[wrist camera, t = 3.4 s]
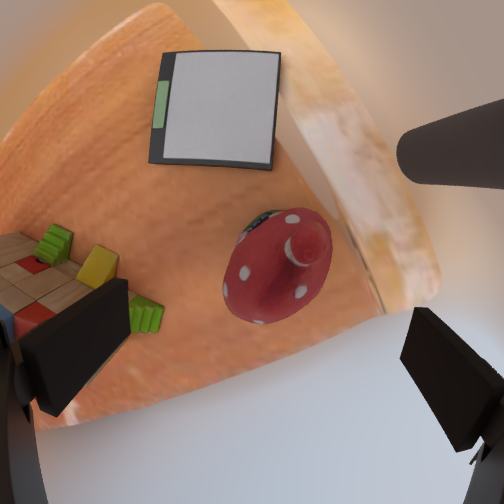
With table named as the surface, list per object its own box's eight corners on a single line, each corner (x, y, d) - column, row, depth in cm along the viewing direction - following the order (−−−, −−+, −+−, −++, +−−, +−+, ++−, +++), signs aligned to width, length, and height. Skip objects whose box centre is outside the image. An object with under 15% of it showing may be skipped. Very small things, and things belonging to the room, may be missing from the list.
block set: (1, 284, 36) (-86, 328, 17) (8, 199, 33) (-98, 219, 14) (147, 372, 36) (78, 479, 17) (173, 278, 33) (75, 377, 14)
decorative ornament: (295, 189, 30) (315, 193, 15) (332, 242, 31) (378, 292, 16) (221, 243, 32) (176, 293, 17) (259, 292, 32) (245, 374, 18)
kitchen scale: (280, 61, 27) (281, 49, 24) (271, 170, 30) (271, 169, 27) (169, 60, 28) (160, 50, 25) (157, 164, 30) (145, 162, 27)
